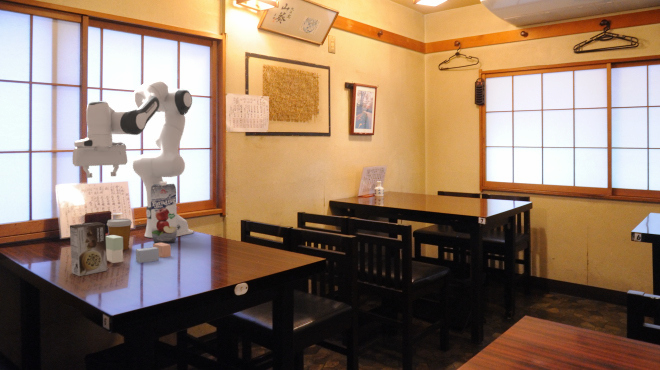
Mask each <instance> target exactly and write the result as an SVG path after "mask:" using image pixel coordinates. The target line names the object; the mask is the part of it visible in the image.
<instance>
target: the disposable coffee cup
mask: <svg viewBox="0 0 660 370" xmlns="http://www.w3.org/2000/svg"><path fill="white" fill-rule="evenodd" d="M132 224H133V221H132V219H130V218H111V219H108V220H107V223H106V226H107V228H108V229H107V230H108V234H109V235H117V236H121V237H123V251H125V250H128V249H129V248H130V247H129V246H130V237H131V230H132V229H131V225H132ZM109 235H108V236H109Z"/></svg>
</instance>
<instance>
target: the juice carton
mask: <svg viewBox="0 0 660 370" xmlns="http://www.w3.org/2000/svg"><path fill="white" fill-rule="evenodd" d="M176 206H177V188H176V185H175V184H174V183H167V181H164V180H163V181H162V182H160V184H153V185H152V187H151V226H152V238H151V239H152V240H153V241H152V242H153V244H155V243H165V244H172V243H175V242H176V239H177V236H176V235H177V214H178V213H177V212H178V211H177V207H176Z"/></svg>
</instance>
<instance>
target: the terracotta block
mask: <svg viewBox="0 0 660 370" xmlns="http://www.w3.org/2000/svg"><path fill="white" fill-rule="evenodd" d="M152 247H156V248H159V258H167V257H172V252H171V251H172V250H171V249H172V248H171V244H170V243H152Z"/></svg>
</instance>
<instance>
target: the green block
mask: <svg viewBox="0 0 660 370" xmlns="http://www.w3.org/2000/svg"><path fill="white" fill-rule="evenodd" d="M106 249H109V250H113V251H116V250H122V249H123V237H121V236H117V235H106Z"/></svg>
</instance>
